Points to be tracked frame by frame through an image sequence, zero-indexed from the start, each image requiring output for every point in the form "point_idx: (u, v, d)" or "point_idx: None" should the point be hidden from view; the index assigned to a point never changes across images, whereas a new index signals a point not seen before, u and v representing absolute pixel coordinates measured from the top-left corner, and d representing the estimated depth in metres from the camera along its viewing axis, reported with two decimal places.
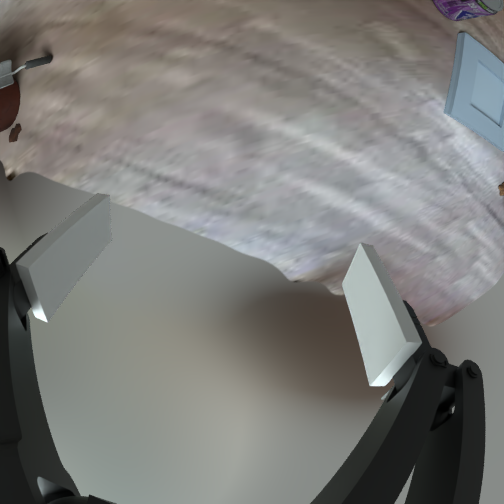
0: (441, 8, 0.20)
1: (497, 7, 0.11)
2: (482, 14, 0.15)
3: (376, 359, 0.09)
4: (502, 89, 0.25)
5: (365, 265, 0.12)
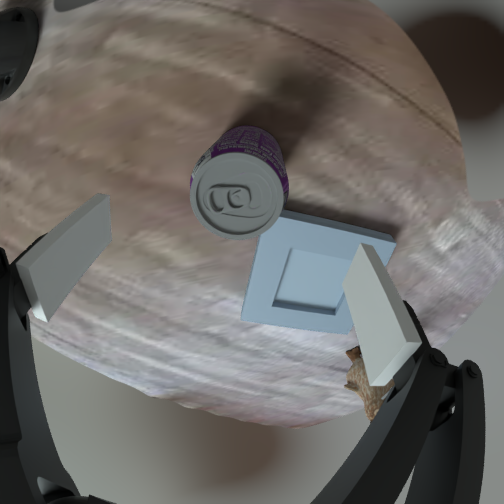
0: None
1: (259, 226, 0.19)
2: None
3: (376, 359, 0.09)
4: (349, 265, 0.33)
5: (365, 265, 0.12)
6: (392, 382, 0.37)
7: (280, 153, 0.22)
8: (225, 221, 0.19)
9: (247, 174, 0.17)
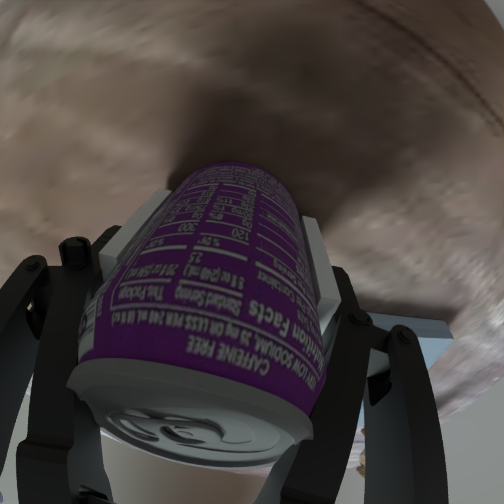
0: None
1: (247, 459, 0.07)
2: None
3: None
4: None
5: (303, 235, 0.14)
6: None
7: (302, 247, 0.10)
8: (171, 447, 0.07)
9: (206, 408, 0.05)
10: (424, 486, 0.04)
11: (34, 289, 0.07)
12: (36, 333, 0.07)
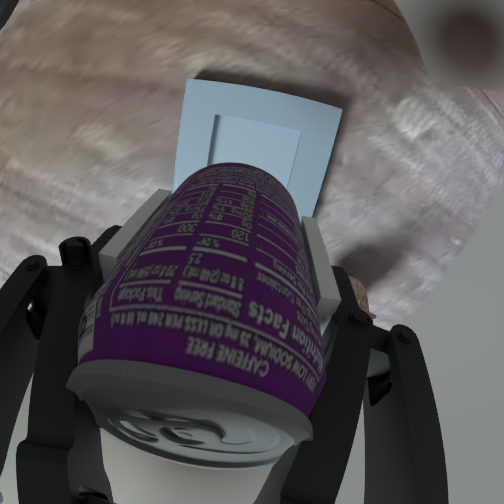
0: None
1: (247, 460, 0.07)
2: None
3: None
4: (290, 140, 0.28)
5: (303, 235, 0.14)
6: (371, 314, 0.32)
7: (302, 248, 0.10)
8: (171, 448, 0.07)
9: (205, 409, 0.05)
10: (424, 486, 0.04)
11: (34, 289, 0.07)
12: (36, 333, 0.07)
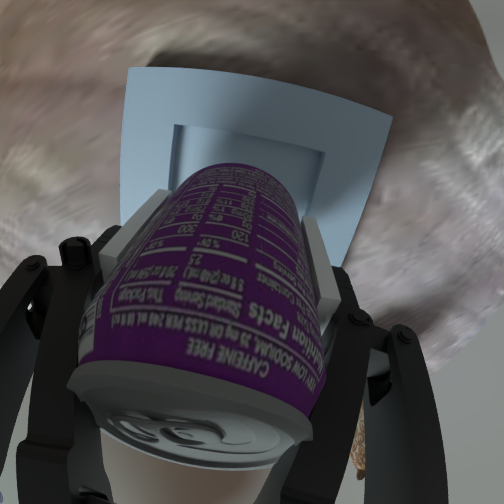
0: None
1: (247, 460, 0.07)
2: None
3: None
4: (304, 166, 0.17)
5: (303, 234, 0.14)
6: None
7: (302, 248, 0.10)
8: (171, 448, 0.07)
9: (206, 410, 0.05)
10: (424, 486, 0.04)
11: (34, 289, 0.07)
12: (36, 333, 0.07)
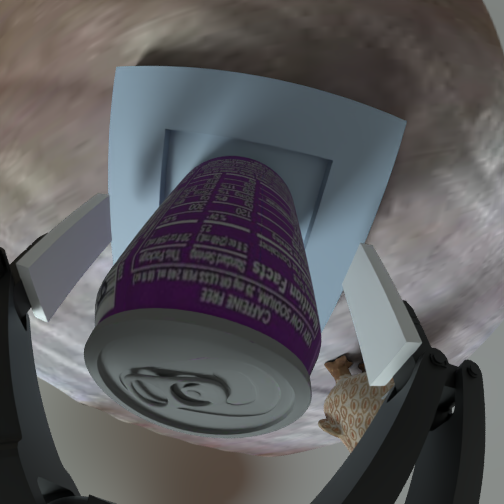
0: None
1: (250, 425, 0.08)
2: None
3: (376, 359, 0.09)
4: (309, 175, 0.15)
5: (365, 265, 0.12)
6: None
7: (298, 229, 0.11)
8: (178, 414, 0.08)
9: (214, 359, 0.06)
10: None
11: None
12: None
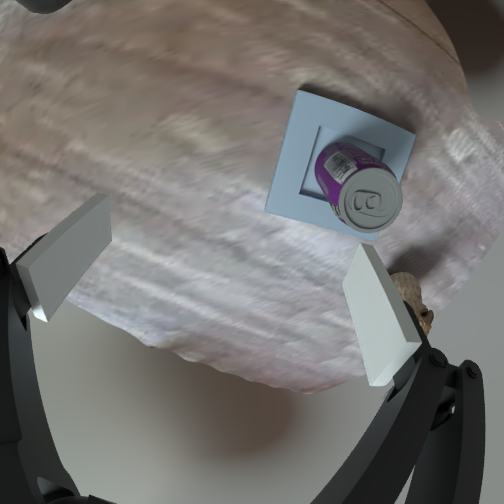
0: None
1: (381, 224, 0.24)
2: None
3: (376, 359, 0.09)
4: (374, 155, 0.31)
5: (365, 265, 0.12)
6: (423, 304, 0.35)
7: None
8: (359, 218, 0.24)
9: (381, 185, 0.22)
10: None
11: None
12: None
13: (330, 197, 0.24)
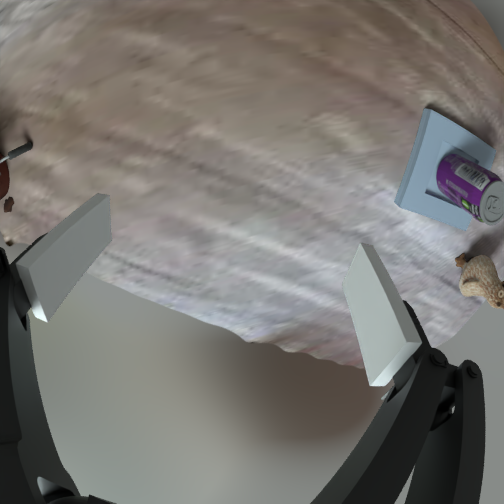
0: (441, 190, 0.34)
1: (497, 218, 0.25)
2: None
3: (376, 359, 0.09)
4: None
5: (365, 265, 0.12)
6: None
7: None
8: (487, 214, 0.25)
9: (500, 192, 0.24)
10: None
11: None
12: None
13: (471, 199, 0.26)
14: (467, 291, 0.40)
